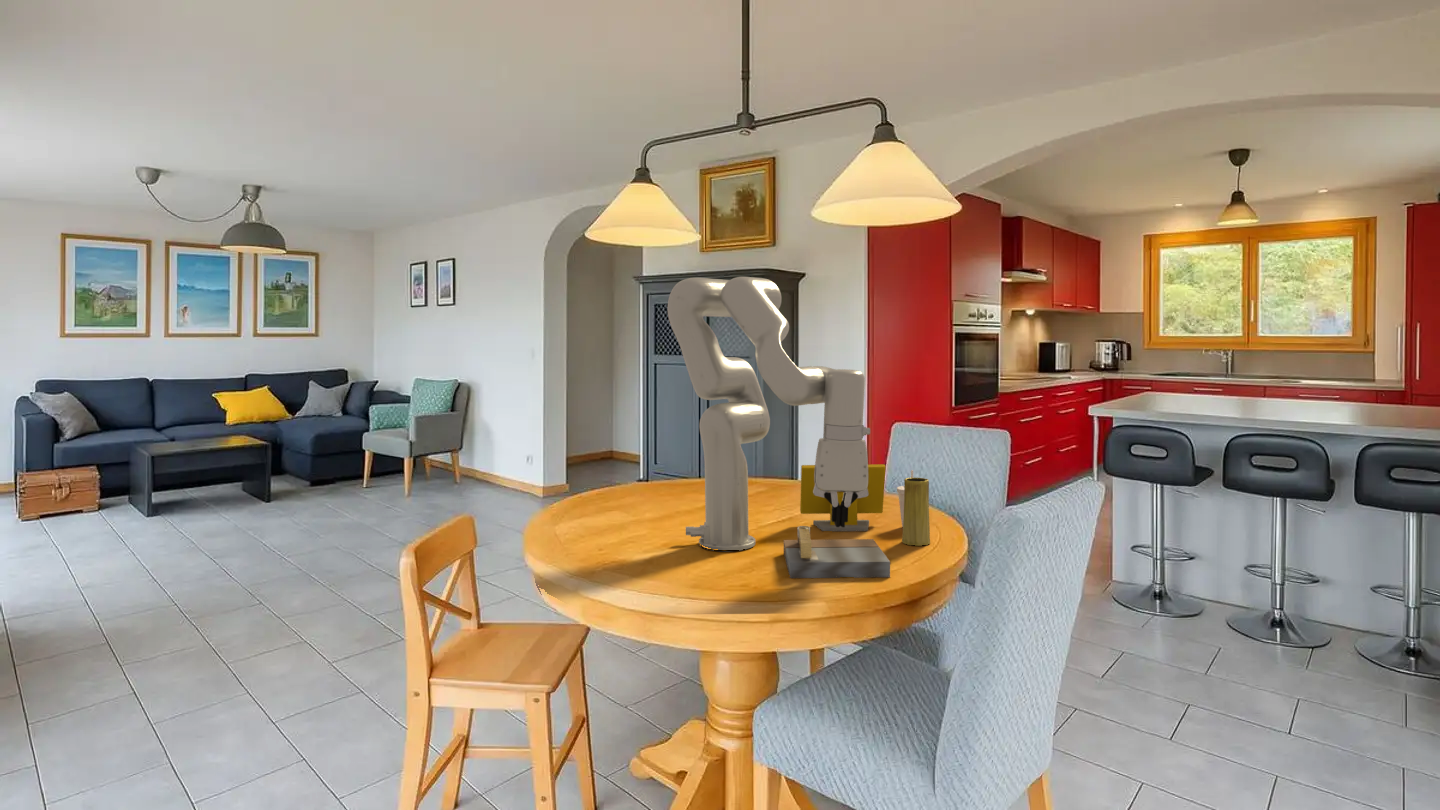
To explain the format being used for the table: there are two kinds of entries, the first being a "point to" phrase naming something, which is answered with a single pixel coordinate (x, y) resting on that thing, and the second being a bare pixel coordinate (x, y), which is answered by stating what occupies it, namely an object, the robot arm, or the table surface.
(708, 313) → the robot arm
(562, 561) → the table surface
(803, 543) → the latch bar
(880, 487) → the toy computer monitor
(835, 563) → the door mockup
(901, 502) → the smoothie
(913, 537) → the vase
